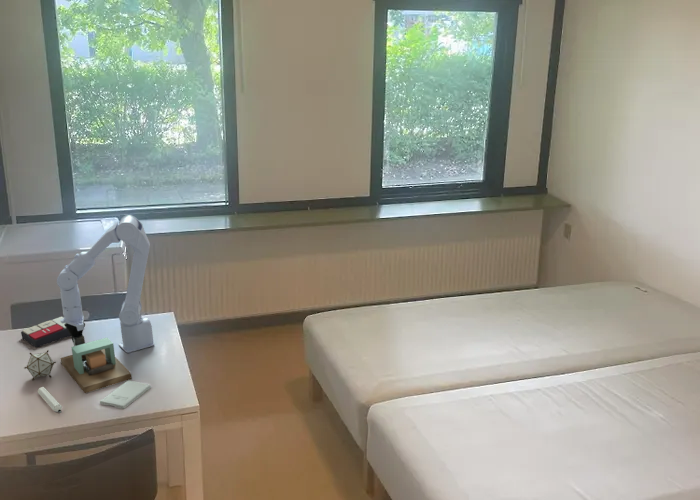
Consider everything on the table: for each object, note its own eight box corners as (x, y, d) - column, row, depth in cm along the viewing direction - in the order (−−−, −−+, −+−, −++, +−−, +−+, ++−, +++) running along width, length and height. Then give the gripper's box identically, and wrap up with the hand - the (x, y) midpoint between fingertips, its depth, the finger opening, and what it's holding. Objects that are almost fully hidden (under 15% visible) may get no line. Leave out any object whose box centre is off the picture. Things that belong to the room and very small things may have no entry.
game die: (46, 389, 206) (40, 375, 198) (21, 378, 207) (15, 364, 199) (64, 366, 212) (59, 351, 204) (40, 355, 212) (34, 339, 204)
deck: (105, 351, 223) (104, 345, 222) (131, 378, 205) (131, 373, 204) (61, 363, 215) (60, 357, 214) (84, 393, 197) (83, 387, 196)
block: (101, 363, 210) (100, 349, 209) (106, 368, 207) (105, 355, 206) (87, 367, 208) (85, 354, 206) (92, 372, 204) (90, 359, 203)
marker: (61, 418, 186) (41, 395, 197) (67, 412, 187) (47, 390, 198) (55, 413, 184) (35, 390, 196) (61, 407, 185) (41, 385, 197)
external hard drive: (150, 389, 200) (124, 410, 189) (127, 384, 203) (100, 405, 191) (150, 384, 199) (123, 405, 188) (127, 380, 202) (99, 400, 191)
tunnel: (109, 357, 214) (107, 337, 212) (115, 363, 210) (113, 343, 208) (74, 367, 208) (71, 347, 206) (79, 374, 204) (76, 353, 201)
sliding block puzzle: (19, 329, 232) (62, 314, 242) (22, 340, 233) (64, 325, 243) (33, 339, 224) (76, 322, 235) (36, 350, 226) (79, 333, 236)
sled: (90, 343, 223) (88, 332, 222) (113, 368, 206) (111, 356, 205) (67, 349, 219) (65, 338, 218) (89, 375, 202) (87, 363, 201)
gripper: (52, 301, 221) (58, 339, 225) (65, 315, 210) (71, 354, 214) (74, 296, 225) (80, 333, 229) (88, 309, 214) (93, 348, 218)
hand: (77, 343), depth 222 cm, fingers closed
